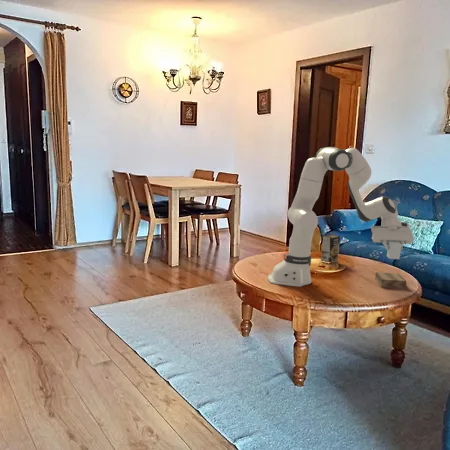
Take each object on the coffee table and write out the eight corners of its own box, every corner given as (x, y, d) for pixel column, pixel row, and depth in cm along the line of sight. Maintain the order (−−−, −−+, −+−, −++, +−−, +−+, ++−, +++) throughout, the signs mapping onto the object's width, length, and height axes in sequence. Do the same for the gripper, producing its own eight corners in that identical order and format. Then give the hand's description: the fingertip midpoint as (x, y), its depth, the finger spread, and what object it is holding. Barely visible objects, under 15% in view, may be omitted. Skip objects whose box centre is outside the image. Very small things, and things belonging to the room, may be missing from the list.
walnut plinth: (381, 287, 219) (381, 279, 218) (375, 279, 230) (375, 272, 230) (405, 288, 218) (406, 281, 217) (398, 280, 229) (399, 273, 229)
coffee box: (329, 264, 254) (331, 238, 251) (320, 262, 259) (322, 236, 255) (338, 262, 260) (340, 236, 256) (329, 259, 265) (331, 234, 261)
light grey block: (389, 258, 219) (391, 243, 217) (386, 256, 224) (388, 241, 222) (399, 259, 218) (401, 244, 217) (396, 256, 223) (398, 241, 222)
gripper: (372, 222, 225) (375, 245, 218) (412, 224, 224) (416, 247, 216) (369, 229, 231) (372, 251, 223) (408, 230, 229) (412, 253, 221)
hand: (394, 249), depth 220 cm, fingers closed on light grey block, 5 cm apart
